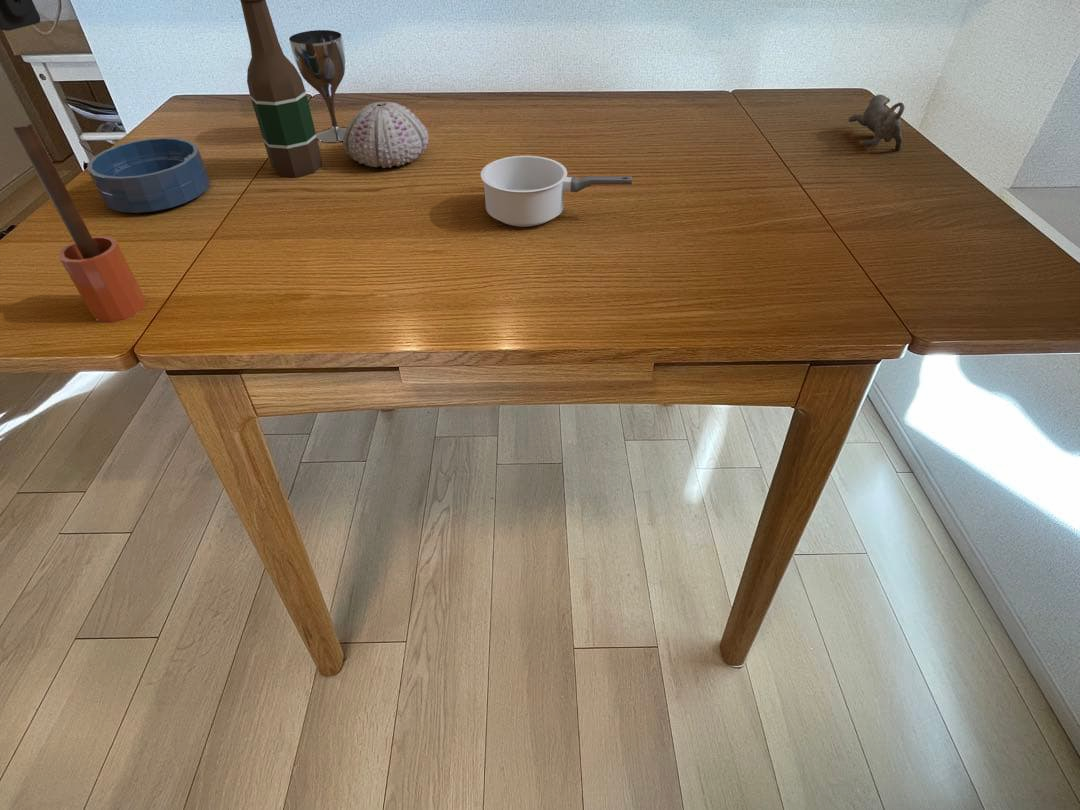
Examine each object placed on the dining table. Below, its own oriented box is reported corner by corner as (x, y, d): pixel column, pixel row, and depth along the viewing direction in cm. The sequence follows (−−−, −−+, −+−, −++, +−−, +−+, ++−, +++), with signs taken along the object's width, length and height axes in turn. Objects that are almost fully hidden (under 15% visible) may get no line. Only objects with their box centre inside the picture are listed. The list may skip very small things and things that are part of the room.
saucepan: (626, 238, 84) (630, 197, 81) (475, 229, 86) (472, 189, 83) (630, 199, 93) (633, 160, 89) (492, 191, 95) (489, 153, 91)
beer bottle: (274, 159, 104) (223, -17, 88) (324, 155, 105) (283, -20, 89) (269, 180, 98) (213, -4, 82) (322, 175, 99) (277, -8, 83)
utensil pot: (88, 328, 71) (49, 264, 66) (104, 300, 75) (70, 237, 70) (140, 324, 72) (106, 259, 66) (154, 296, 76) (123, 233, 70)
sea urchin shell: (372, 181, 98) (362, 127, 92) (331, 154, 105) (320, 102, 100) (447, 158, 104) (441, 105, 98) (403, 134, 111) (395, 84, 106)
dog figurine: (905, 155, 103) (924, 106, 98) (868, 155, 103) (885, 106, 98) (877, 127, 112) (893, 80, 107) (843, 127, 112) (857, 80, 107)
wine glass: (304, 141, 109) (279, 42, 99) (326, 124, 115) (304, 28, 105) (347, 145, 108) (326, 45, 98) (368, 127, 114) (350, 31, 103)
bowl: (91, 220, 89) (71, 181, 86) (123, 177, 100) (107, 140, 96) (199, 212, 91) (184, 174, 87) (220, 170, 101) (207, 134, 97)
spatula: (103, 312, 72) (-1, 128, 58) (108, 304, 73) (7, 122, 60) (131, 310, 72) (35, 126, 59) (136, 302, 74) (42, 120, 60)
